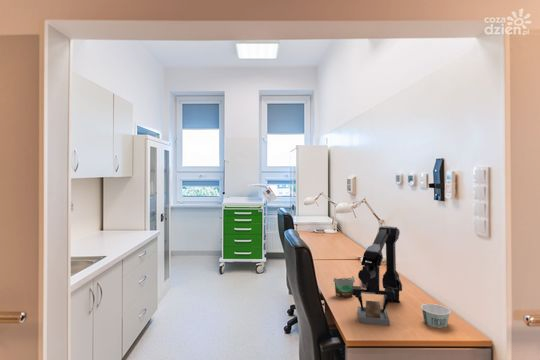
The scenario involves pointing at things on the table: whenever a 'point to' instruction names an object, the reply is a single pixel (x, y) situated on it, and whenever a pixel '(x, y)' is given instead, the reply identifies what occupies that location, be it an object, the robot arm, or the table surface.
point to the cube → (373, 309)
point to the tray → (369, 320)
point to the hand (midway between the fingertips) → (372, 310)
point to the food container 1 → (344, 287)
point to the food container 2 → (435, 315)
